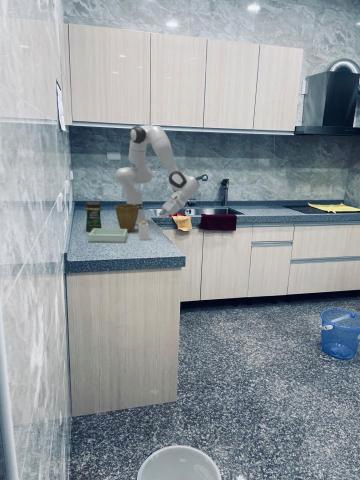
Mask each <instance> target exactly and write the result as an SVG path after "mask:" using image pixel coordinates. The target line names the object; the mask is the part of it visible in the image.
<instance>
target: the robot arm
mask: <svg viewBox="0 0 360 480" xmlns="http://www.w3.org/2000/svg"><path fill="white" fill-rule="evenodd" d="M129 136H130V143H129V151H128V160H129V161H130V162H131V163H132V164H134V165H135V167H132V166H131V167H128V166H127V167H121V168H118V169H117V170H116V172H115V178H116V181H117V182H119V184H121V185H122V187H123V188H124V190H125V194H126V196H125V198H126V203H125V205H135V206H139V211H138V217H137V221H136V224H135V226H137V225H138V226H139V223H141V222H142V221H145V222H146V223H148V224H149V222H148V221H147V220H146V211H145V210H144V204H143V192H142V190H141V189H139V188H136V186H135V185H136V184H139V185H140V184H148V183H151V181H152V180H153V177H154V175H153V171H152V170H151V169H150V168H149V167H148V166H147V163H146V157H147V156H146V154H147V145H148V144H151V145H150V146H151V147H152V149H153V152H154V153H155V155H156V156H157V157H158V159H159V160H160V162H161V163H163V165H164V167H165V169H166V170H167V173H168V175H169V176H168V182H169V185H170V186H171V188H172V191H173V192H174V193H172V195H170V198H169V199H168V200H167V201H165V203H163V204H162V205H161V207H162V209H161V211H160V212H159V213H158V216H160V217H161V218H162V219H163V220H165V219H166V218H167V217H169V216H170V215H171V216H174V215H176V214H177V213H178V212H179V211H180V210H182V208H184V207H185V206H186V203H187V202H188V201H189V199H190V198H192V197H193V196H194V195H195V194H196V193H197V192H198V190H199V189H200V187H201V186H200V182H199V181H198V180H197V178H196V177H195V176H192V175H188V174H185V173H183V172H182V171H179V168H178V166H177V163H176V161H175V158H174V151H173V148H172V145H171V141H170V139H169V137H168V135H167V133H166V131H164V129H163V128H162V126H160V125H156V124H155V125H153V124H152V125H151V124H146V125H144V124H143V125H135V126H133V127H132V128H131V130H130V131H129Z"/></svg>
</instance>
